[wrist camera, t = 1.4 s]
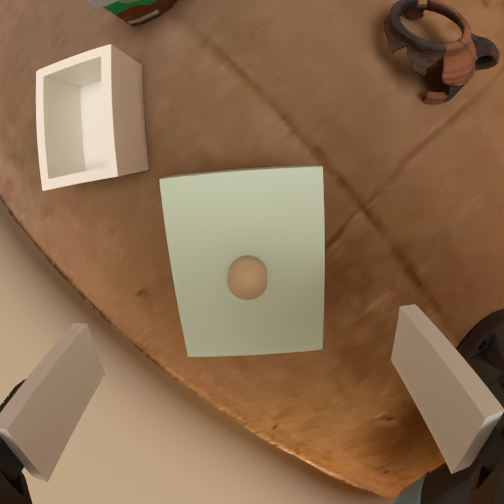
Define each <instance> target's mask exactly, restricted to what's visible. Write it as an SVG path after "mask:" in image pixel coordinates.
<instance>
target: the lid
mask: <svg viewBox="0 0 504 504" xmlns="http://www.w3.org/2000/svg"><path fill="white" fill-rule="evenodd" d="M159 181H160V190H161V198H162V206H163V214H164V222H165V229H166V236H167V243H168V250H169V257H170V263H171V269H172V275H173V281H174V287H175V293H176V298H177V304H178V309H179V314H180V320H181V325H182V330H183V335H184V339H185V344H186V349H187V354H188V357H213V356H242V355H261V354H277V353H290V352H302V351H312V350H322V346H323V323H324V282H325V229H324V188H323V167H322V166H318V165H298V166H277V167H261V168H246V169H233V170H222V171H211V172H201V173H191V174H182V175H173V176H168V177H165V178H161V179H159Z"/></svg>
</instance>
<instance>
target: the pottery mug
mask: <svg viewBox="0 0 504 504" xmlns="http://www.w3.org/2000/svg"><path fill="white" fill-rule="evenodd" d="M391 10H392V11H391V12H390V15H389V16H388V17H387V19H386V20H385V22H384V24H385V26H384V31H385V33H386V36H387V40H388V49H389V53H390V54H393V53H394V52H395V51H396V50H399V49H401V48H404V47H407V55H408V58H409V60H410V61H411V63H412V65H413V69H414V70H415V71H416V72H417V73H419V74H420V75H423V76H424V75H425V74H426V72H427V69H428V68H429V67H431V66H432V65H433V64H434V63H436V62H437V61H439V60H440V59H442V61H443V71H442V75H441V77H442V80H443V82H444V83H445V84H447V85H448V90H447V91H446V92H430V91H428V92H426V96H425V98H424V100H423V101H424V102H425V103H428V104H440V103H445V102H447V101H449V100H450V99H452V98H453V97H454V96H455V94H456V93H457V92H458V91H459V90H460V89H461V88H462V87H463V86H464V85H465V84H466V83H467V82H468V81H469V79H470V78H471V77H472V75H473V73H474V70H483V69H488V68H491V67H493V66H495V65H496V64H497V63H498V60H499V55H500V54H499V51H498V49H497V48H496V46H495V44H494V43H493V42H492V41H490V40H489V39H487V38H484V37H479V36H476V35H474V34H472V33H471V29H470V26H469V24H468V22H467V21H466V20H465V18H464V17H463V16H462V15H461V14H460V13H459V12H457V11H456V10H455V9H454V8H452V7H451V6H449V5H447V4H445V3H443V2H440V1H438V0H428V1H427V5H424V4H418V0H400V1H398V2H396V3H395V4H394V5H393V7H392V9H391ZM424 10H429V11H433V12H436V13H439V14H442V15H444V16H446V17H447V18H449V19H450V20H452V21H453V22H455V23H456V24H457V25H458V26H459V27H460V29H461V31H462V36H461V38H460V39H459V40H458V41H455V42H452V43H445V44H440V43H434V42H430V41H426V40H424V39H422V38H419V37H417V36H415V35H413V34H412V33H411V32H409V31H408V30H407V29H406V28H405V27H404V26H403V25H402V23H401V22H400V19H399V17H400V15H401V14H404V13H405V14H406V16H407V17H408V19H409V20H414V19H419V18H422V17H423V15H424V14H423V11H424Z"/></svg>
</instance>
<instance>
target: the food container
mask: <svg viewBox="0 0 504 504" xmlns="http://www.w3.org/2000/svg"><path fill="white" fill-rule="evenodd" d="M87 1H88V2H89V4H90V5H91V6H92V7H93V8H94V10H96V9H99V8H101V7H104V8H105V9H107V10H108V11H110V12H112V13H113V14H115V15H116V16H118V17H120V18H121V19H123V20H124V21H126V22H127V23H129V24H130V25H132V26H135V25H139V24H143V23H146V22H148V21H150V20H152V19H154V18H156V17H159V16H160V15H161V14H163V13H164V12H165V11H167V10H168V9H170V8H171V7H172V6H173V5H174V4H175V3H176V1H177V0H87Z"/></svg>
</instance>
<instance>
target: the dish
mask: <svg viewBox="0 0 504 504" xmlns="http://www.w3.org/2000/svg"><path fill="white" fill-rule="evenodd" d="M36 122H37V141H38V154H39V165H40V174H41V182H42V190H43V191H45V190H49V189H54V188H59V187H63V186H68V185H73V184H79V183H84V182H89V181H95V180H100V179H106V178H112V177H118V176H123V175H127V174H132V173H136V172H141V171H146V170H149V164H148V154H147V143H146V130H145V116H144V99H143V76H142V65H141V64H140V63H138V62H137V61H135V60H134V59H132V58H131V57H130V56H128V55H127V54H125V53H124V52H122V51H121V50H119V49H118V48H116V47H115V46H113V45H112V44H109V45H106V46H103V47H99V48H96V49H93V50H90V51H87V52H84V53H81V54H78V55H75V56H73V57H70V58H67V59H65V60H62V61H59V62H57V63H54V64H52V65H49V66H47V67H44V68H42V69H40V70H37V72H36Z"/></svg>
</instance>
